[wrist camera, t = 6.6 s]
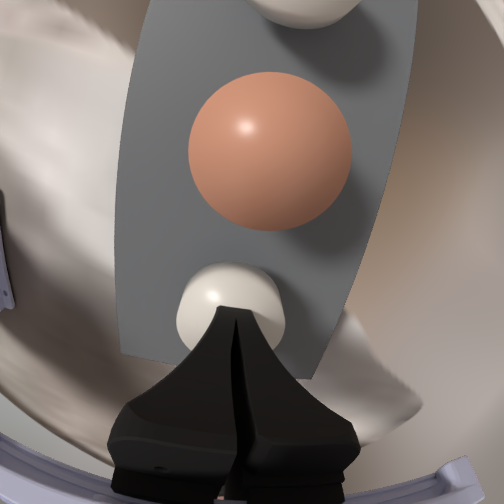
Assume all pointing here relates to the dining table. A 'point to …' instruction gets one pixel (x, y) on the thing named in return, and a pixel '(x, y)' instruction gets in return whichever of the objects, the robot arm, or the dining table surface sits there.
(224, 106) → the middle button
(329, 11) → the outer button
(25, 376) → the dining table surface
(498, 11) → the dining table surface
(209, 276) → the inner button
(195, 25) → the grey flat board
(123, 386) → the dining table surface
